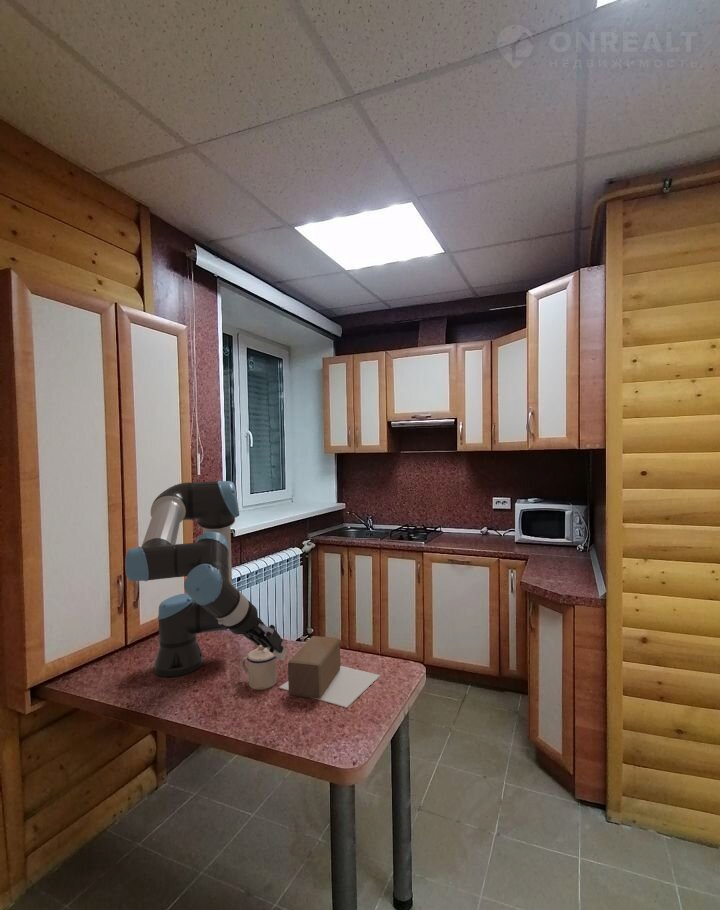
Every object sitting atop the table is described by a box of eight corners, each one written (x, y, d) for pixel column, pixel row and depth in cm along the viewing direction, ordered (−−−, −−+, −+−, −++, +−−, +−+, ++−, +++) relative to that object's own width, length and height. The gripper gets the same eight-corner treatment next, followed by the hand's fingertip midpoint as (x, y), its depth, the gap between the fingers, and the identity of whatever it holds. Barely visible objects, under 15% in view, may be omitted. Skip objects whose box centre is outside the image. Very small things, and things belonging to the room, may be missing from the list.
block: (318, 664, 130) (340, 636, 149) (286, 661, 132) (311, 634, 152) (319, 700, 130) (341, 667, 149) (287, 696, 133) (312, 664, 152)
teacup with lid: (283, 678, 144) (282, 641, 144) (267, 692, 135) (266, 653, 135) (250, 672, 148) (249, 637, 148) (233, 686, 140) (232, 648, 140)
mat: (279, 688, 138) (278, 687, 138) (317, 660, 155) (317, 660, 155) (346, 708, 126) (346, 707, 126) (380, 676, 143) (380, 675, 143)
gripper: (207, 623, 108) (258, 664, 122) (249, 632, 101) (297, 674, 116) (223, 594, 112) (270, 637, 127) (264, 601, 106) (309, 645, 120)
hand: (283, 655), depth 121 cm, fingers closed
